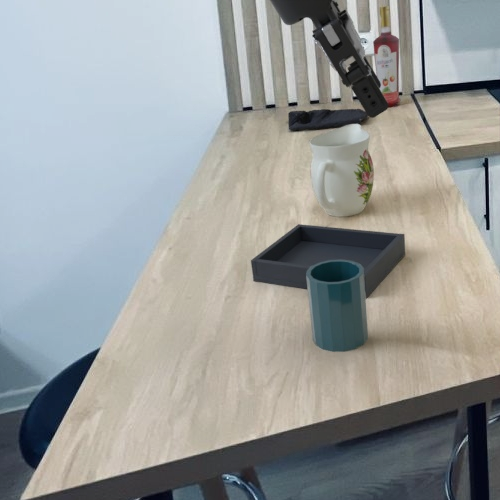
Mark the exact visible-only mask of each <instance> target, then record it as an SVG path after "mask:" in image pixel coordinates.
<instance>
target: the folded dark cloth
mask: <svg viewBox="0 0 500 500" xmlns="http://www.w3.org/2000/svg"><path fill="white" fill-rule="evenodd" d="M287 115H288V116H287V117H288V122H287V123H288V130H289V131H292V132H297V131H313V130H320V129H331V128H341V127H343V126H346V125H349V124H359V123H361V122H363V120H365V119H366V118H368V117H369V116H368V115H367V113H366V111H365V110H364V109H361V108H346V109H342V108H341V109H329V108H328V109H327V108H322V109H312V110H309V111H306V110H291V111H289V112H288V113H287Z"/></svg>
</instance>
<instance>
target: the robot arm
mask: <svg viewBox="0 0 500 500" xmlns="http://www.w3.org/2000/svg"><path fill="white" fill-rule="evenodd" d="M269 1H270V3H271V5H272V6H273V8H274V9H275V11H276V13H277V14H278V16H279V17H280V19H281V21H282V22H283V23H284V24H285V25H286V26H292V25H296V24H297V23H300V22H301V21H302V20H304V19H309V20H311V22H312V24H313V26H314V27H315V28H314V29H313V30H311V31H312V35H311V36H312V38H313V41H314V42H315V44H316V46H317V47H318V48H319V49H320V50H321V51H322V52H323V54H324V56H325V58H326V59H327V62H328V63H329V65H330V67H331V68H332V69H333V70H334V71H335V72H337V74H338V76H339V78H340V79H341V83H342V85H343V86H345V87H346V88H349V89H351V91H352V92H353V94H354V95H355V97H356V98H357V100H358V102H359V103H360V105H361V106H362V108H363V111H365V112H366V113H367V115H368V117H369V118H372V119H373V118H376V117H378V116H379V115H381V114H383V113H384V112H386V111H387V110H388V109H389V107H388V102H387V101H386V99H385V97H384V96H383V94H382V92H381V90H380V89H379V88H380V87H381V83H380V81H379V79H378V77H377V75H376V71H374V69H373V67H372V66H371V64H370V62H369V61H368V59H367V57H366V56H365V55H366V51H365V48H364V46H363V44H362V38H361V37H360V34H359V32H358V31H357V29H356V27H355V24H354V21H353V19H352V17H351V15H350V14H349V12H348V11H347V9H346V8H344V9H342V10H341V8H339V4H338V2H337V1H335V0H269ZM346 68H347V69H346ZM347 70H348V71H347Z"/></svg>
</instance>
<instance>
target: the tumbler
mask: <svg viewBox="0 0 500 500" xmlns="http://www.w3.org/2000/svg"><path fill="white" fill-rule="evenodd" d="M306 279H307V289H306V290H307V298H308V306H309V315H310V316H309V318H310V327H311V335H312V337H311V338H312V341H313V343H314V345H315V346H316V347H318V348H320V349H321V350H324V351H328V352H335V353H336V352H337V353H338V352H339V353H340V352H342V353H343V352H349V351H353V350H356V349H358V348H360V347H362V346H364V345H365V344H366V343H367V341H368V340H369V327H368V313H367V312H368V310H367V298H366V294H365V279H364V268H363V267H362V266H361V265H360V264H359V263H356V262H354V261H350V260H329V261H324V262H320V263H317V264H315V265H313V266H311V267H310V268H309V269H308V270H307V273H306Z"/></svg>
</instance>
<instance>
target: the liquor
mask: <svg viewBox="0 0 500 500" xmlns="http://www.w3.org/2000/svg"><path fill="white" fill-rule="evenodd" d="M379 15H380V35H379V36H378V37H376V38H375V39H374V40H373V41H372V43H373V55H374V64H375V74H376V76H377V77H378V79H379V81H380V83H381V87H380V88H379V89H380V90H381V92H382V94H383V96H384V97H385V99H386V101H387V102H388V108H391V107H396V106H397V105H398V104H399V103H400V102H401V98H400V89H399V87H400V84H399V82H400V81H399V79H400V78H399V77H400V74H399V73H400V71H399V70H400V38H398V37H397V36H396V35H394V34H392V30H391V29H392V28H391V22H390V5H389V6H388V5H387V6H386V5H385V6H381V7H379Z"/></svg>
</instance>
